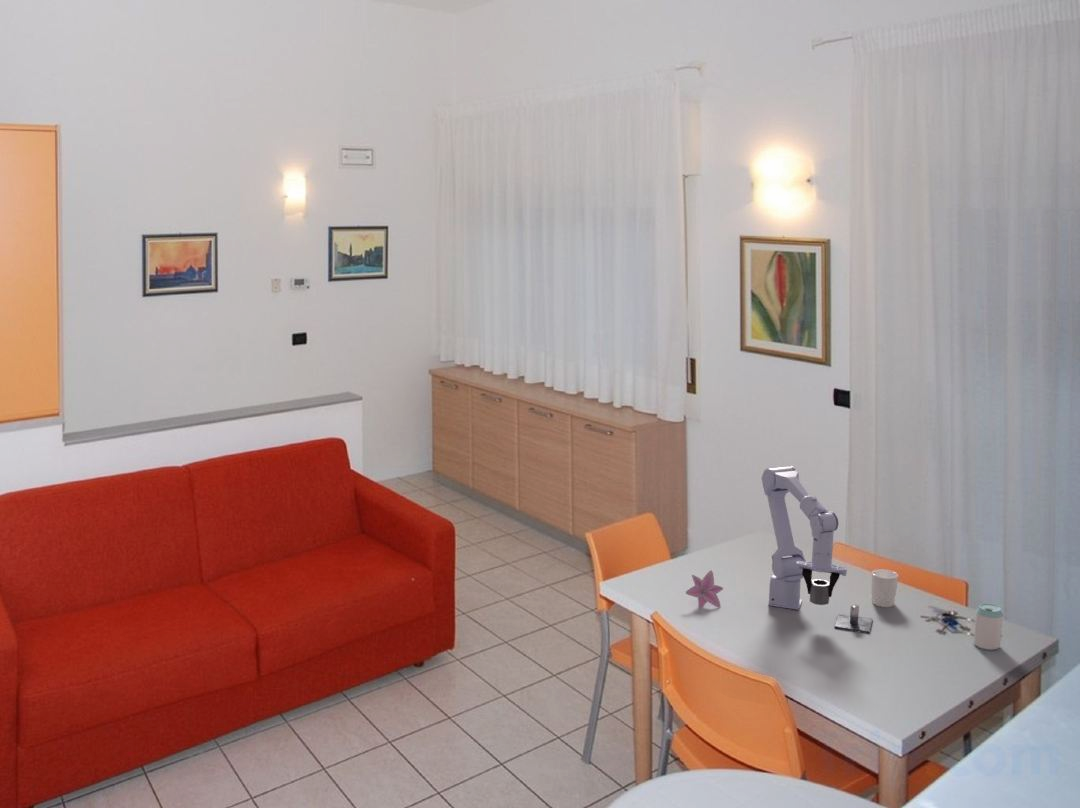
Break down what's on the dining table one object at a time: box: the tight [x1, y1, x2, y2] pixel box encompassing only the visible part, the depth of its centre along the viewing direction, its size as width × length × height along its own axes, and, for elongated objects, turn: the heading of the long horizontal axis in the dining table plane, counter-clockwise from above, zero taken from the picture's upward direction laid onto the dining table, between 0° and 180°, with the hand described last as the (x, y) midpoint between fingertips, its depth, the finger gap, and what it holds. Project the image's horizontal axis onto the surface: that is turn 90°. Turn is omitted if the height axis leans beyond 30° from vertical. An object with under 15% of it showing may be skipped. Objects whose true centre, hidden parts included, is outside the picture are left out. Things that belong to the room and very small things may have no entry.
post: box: [834, 604, 873, 634], centre depth 306 cm, size 10×10×6 cm
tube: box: [809, 578, 830, 606], centre depth 304 cm, size 5×5×6 cm
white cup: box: [871, 568, 899, 608], centre depth 321 cm, size 8×8×10 cm
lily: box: [685, 569, 724, 610], centre depth 321 cm, size 12×12×10 cm
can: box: [972, 603, 1004, 651], centre depth 290 cm, size 7×7×12 cm
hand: (819, 594), depth 304 cm, fingers closed on tube, 5 cm apart
